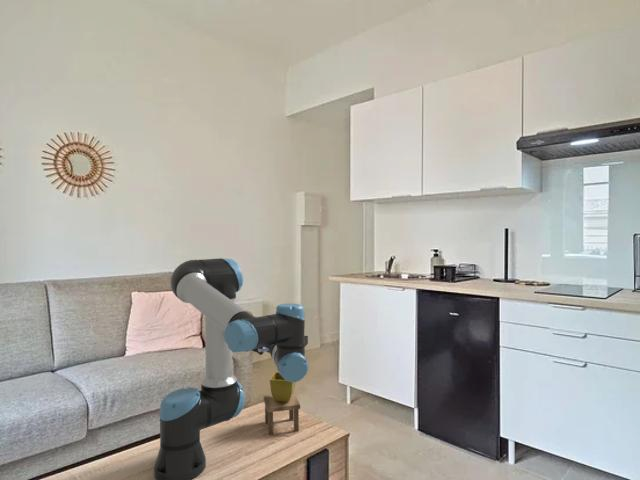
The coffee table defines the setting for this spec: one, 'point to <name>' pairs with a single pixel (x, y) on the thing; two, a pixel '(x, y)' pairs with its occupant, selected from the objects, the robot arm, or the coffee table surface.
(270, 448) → the coffee table surface
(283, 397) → the flower pot
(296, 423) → the stool
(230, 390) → the robot arm
